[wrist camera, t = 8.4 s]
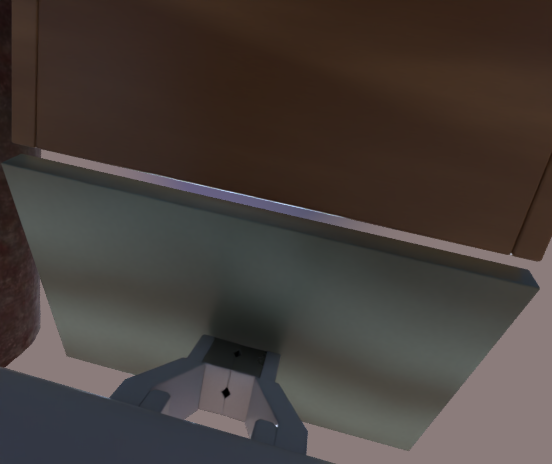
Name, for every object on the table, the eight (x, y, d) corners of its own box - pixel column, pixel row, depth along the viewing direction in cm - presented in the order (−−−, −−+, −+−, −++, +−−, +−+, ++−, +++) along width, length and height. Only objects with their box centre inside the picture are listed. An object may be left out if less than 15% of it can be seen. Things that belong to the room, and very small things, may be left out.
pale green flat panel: (406, 432, 15) (409, 452, 15) (77, 342, 17) (66, 356, 16) (529, 269, 10) (541, 288, 9) (21, 152, 11) (-1, 162, 10)
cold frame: (493, 33, 16) (436, 206, 18) (171, -24, 17) (154, 144, 19) (701, -106, 7) (541, 263, 9) (10, -201, 8) (10, 142, 11)
